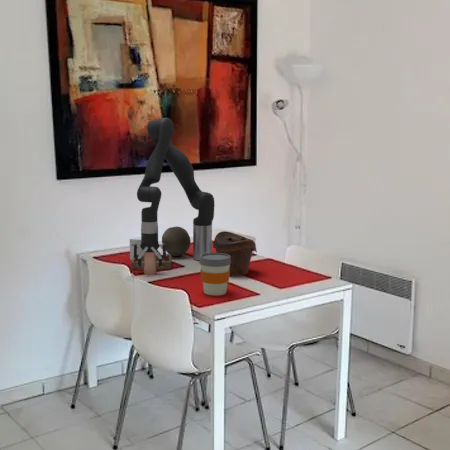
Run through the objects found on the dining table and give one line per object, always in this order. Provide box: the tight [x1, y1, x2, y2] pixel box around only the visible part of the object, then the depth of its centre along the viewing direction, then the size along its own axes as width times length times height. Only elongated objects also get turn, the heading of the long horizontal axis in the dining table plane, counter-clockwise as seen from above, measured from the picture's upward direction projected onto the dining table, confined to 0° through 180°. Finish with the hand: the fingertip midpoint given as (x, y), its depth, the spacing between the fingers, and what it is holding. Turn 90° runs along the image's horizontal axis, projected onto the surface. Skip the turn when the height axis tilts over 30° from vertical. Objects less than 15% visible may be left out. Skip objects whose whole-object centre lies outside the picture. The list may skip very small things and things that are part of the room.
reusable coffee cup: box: [199, 252, 231, 296], centre depth 252 cm, size 13×13×15 cm
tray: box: [130, 254, 173, 271], centre depth 292 cm, size 18×14×4 cm
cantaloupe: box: [161, 226, 192, 257], centre depth 311 cm, size 14×14×15 cm
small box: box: [129, 236, 144, 261], centre depth 305 cm, size 8×6×10 cm
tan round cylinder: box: [143, 252, 157, 276], centre depth 279 cm, size 5×5×10 cm
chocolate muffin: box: [212, 230, 258, 277], centre depth 281 cm, size 18×20×18 cm
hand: (150, 266), depth 279 cm, fingers open, 8 cm apart
